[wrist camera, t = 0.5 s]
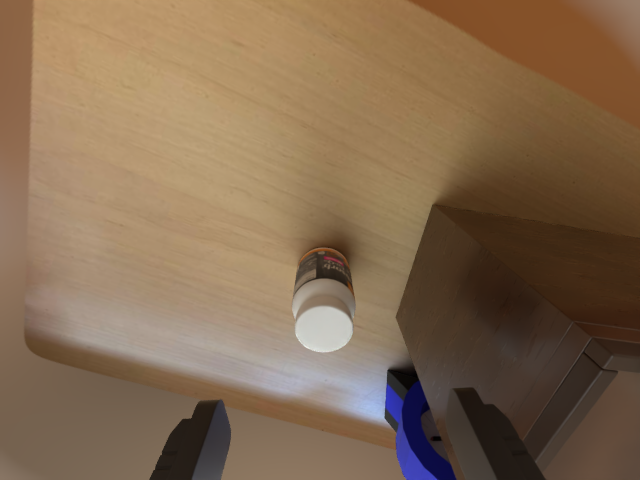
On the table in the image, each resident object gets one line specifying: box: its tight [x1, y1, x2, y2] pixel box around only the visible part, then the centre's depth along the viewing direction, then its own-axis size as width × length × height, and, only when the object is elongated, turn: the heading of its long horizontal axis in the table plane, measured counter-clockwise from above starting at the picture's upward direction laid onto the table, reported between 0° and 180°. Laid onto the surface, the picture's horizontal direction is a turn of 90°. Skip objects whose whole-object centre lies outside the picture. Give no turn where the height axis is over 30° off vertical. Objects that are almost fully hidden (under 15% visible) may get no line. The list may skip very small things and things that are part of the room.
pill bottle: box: [292, 248, 356, 352], centre depth 28 cm, size 6×6×10 cm
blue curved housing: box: [385, 370, 457, 480], centre depth 34 cm, size 12×12×15 cm
